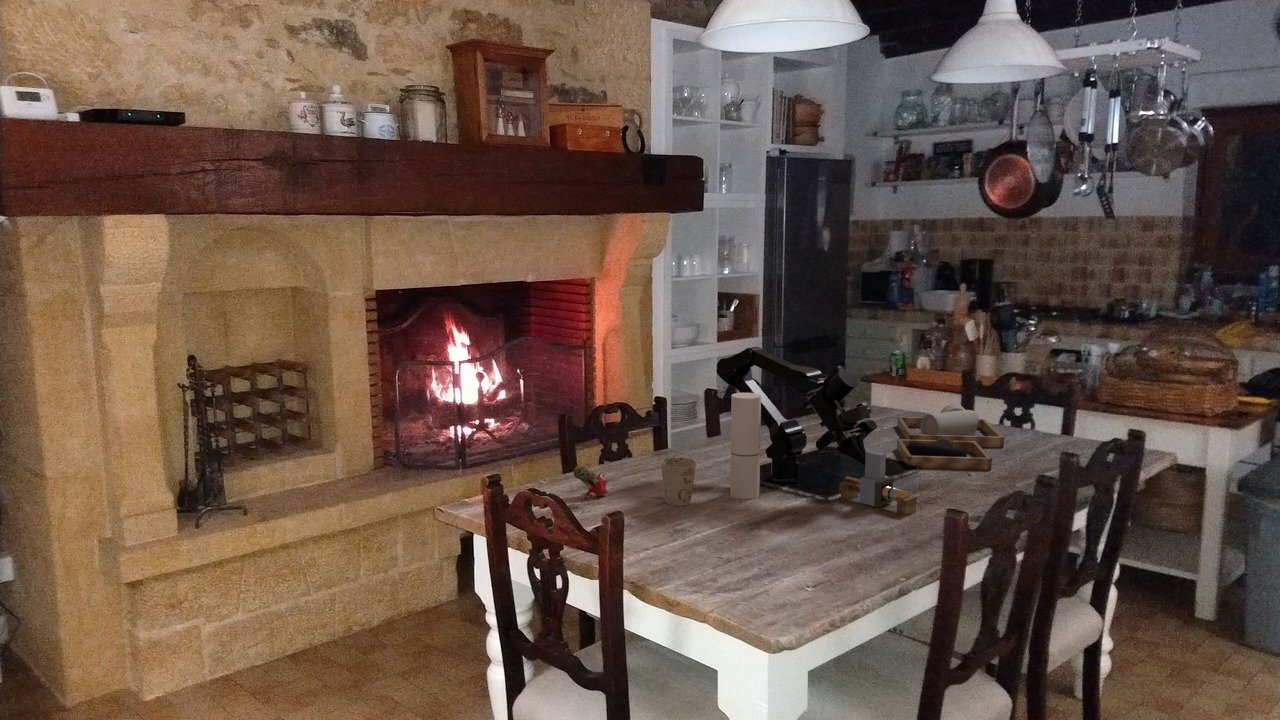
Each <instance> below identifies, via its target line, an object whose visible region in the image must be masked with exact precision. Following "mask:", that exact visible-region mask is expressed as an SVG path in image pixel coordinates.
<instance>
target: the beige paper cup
mask: <svg viewBox="0 0 1280 720" xmlns="http://www.w3.org/2000/svg"><path fill="white" fill-rule="evenodd" d="M660 466H661V468H660V469H661V474H662V482H663V483H662V484H663V489H664V491H663V492H664V498H665V503H666V504H667V505H669V506H674V507H683V506H684V507H685V506H688V505H690V504H691V502H692V497H693V491H694V489H693V488H694V482H695V474H696V468H697V462H696V461H695V460H694V459H692V458H688V457H668V458H665V459H663V460H661V462H660Z"/></svg>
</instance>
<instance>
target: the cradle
mask: <svg viewBox="0 0 1280 720" xmlns="http://www.w3.org/2000/svg"><path fill="white" fill-rule="evenodd" d="M838 489H839V493H840V494H841V498H840V499H843V500H846V501H848V500H851V499H854V498H856V497H859V492H857V491H853V490H851V489H850V485H846V484H843V482H842V483H839V488H838ZM916 512H917V496H916V495H912V494H910V496H909V497H907V498H904V499H901V498H898V499H897V502H896V514H899V515H902V516H909V515H911V514H913V513H916Z"/></svg>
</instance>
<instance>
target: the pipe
mask: <svg viewBox="0 0 1280 720" xmlns="http://www.w3.org/2000/svg"><path fill="white" fill-rule="evenodd" d="M860 479H861V478H855V477H851V476H845V477H844V479H843V481H842V483H843V484H846V485H850V489H851V490H853V491H857V492H858V493H860ZM910 495H911V493H910V491H908V490H903V489H899V488H897V487H894V486H893V487H889V486H884V485H883V486H882V492H881V498H884V499H888V500H891V501H892V502H896V503H897V499H898V498H901V499H904V498H907V497H909V496H910Z"/></svg>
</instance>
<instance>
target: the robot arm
mask: <svg viewBox="0 0 1280 720" xmlns="http://www.w3.org/2000/svg"><path fill="white" fill-rule="evenodd" d="M754 366H755V367H758V368H759V369H762V370H763V371H766V372H767V373H770V374H772V375H774V376H776V377H778V378H780V379H782V380H784V382H786V384H787V386H788V387H789V388H791V389H792V391H794V392H796V393H798V394H800V395H805V394H810V393H812V395H811V396H805V397H804V399H803V400H804V402H803V406H802V407H803V409H809V408H812V409H813V411H814V412H815V413H816V415H817V416H818V418H819V419H820V420H821V421H820V423H819V425H820V427H821V428H823V427H825V428H826V429H827V431H825V432H824V433H823V434H822V435H821V436H820V437H819V438H817V440H816V441H815V448H816V449H817V451H818V452H819V453H820V454H821V453H824V452H827V451H828V450H829V446H830V445H831V444H835V443H836V445H837V447H836V448H835V449H834V450H835V452H840V453H841V454H843V455H845V456H847V457H849V458H850V459H853V460H854V461H856V462H858V463H860V464H862V465H863V466H865V459H866V452H867V451H866V447H865V444H864V440H865V439H866V438H867V437H868V436H869V435H871V434H872V433H873V432H874V431H875V430H876V429H877V428H878V425H877V422H875V420H874V419H870V418H871V413H872V408H871V406H869V404H868V403H867V402H866V401H865V402H864V401H863V402H860V403H857V404H856V407H854V408H851V409H848V408H847V407H845V406H844V407H841V405H840V404H839V402H843V401H844V400H845V399H846V398H847V397H848V396H849V395H850V394H851V393H852V392H853V391H855V389H856V388H857V387H859V381H858V380H859V379H858V378H857V376H856V375H855V374H853V373H852V372H851V371H849V370H847V369H844V368H843V366H842V365H838V366H836V367H835V368H833V369H832V371H831V373H829V375H826V374H823V373H822V372H821V370H819V369H817V368H814V367H810V366H804V365H797V364H794V363H792V362H789V361H788V360H785V359H783V358H781V357H779V356H776V355H775V354H772V353H770V352H768V351H766V350H764V349H763V348H761V347H760V346H752V347H747V348H745V349H744V350H741V351H740V352H738V353H736V354H733V355H731V356H727V357H723V358H721V359H719V360H718V362H717V364H716V374H717V376H718V377H719V378H720V379H721V380H722V381H724V383H726V384H727V385H729V386H731V387H732V388H735V389H736V390H737V391H738V393H755V394H759V395H761V421H762V422H763V423H764V425H765V427H767V429H768V432H769V439H770V442H772V443H771V444H770V445H769V446H768V447H766V448H765V455H766V458H767V459H771V472H770V476H771V475H772V478H777V479H791V478H798V479H799V466H800V465H799V461H798V459H797V457H798V456H802V453H803V451H804V449H805V448H806V446H807V438H808V437H807V434H806V432H805V431H806V430H805V428H803V427H802V426H801V424H800V423H799V421H798V420H797V419H795V418H792V419H786V418H785V417H784V416H783V415H782V414H781V412H780V411H779V410H778V408H777V407H776V406H775V405H774V403H773V402H772V401H771V400H770V399H769V398H768V396H767V395H766V393H764V391H763V390H762V388H761V387H760V386H759V385H758V384H757V382H756V381H755V380H754V379H753V373H752V367H754ZM859 421H860V422H859Z"/></svg>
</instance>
